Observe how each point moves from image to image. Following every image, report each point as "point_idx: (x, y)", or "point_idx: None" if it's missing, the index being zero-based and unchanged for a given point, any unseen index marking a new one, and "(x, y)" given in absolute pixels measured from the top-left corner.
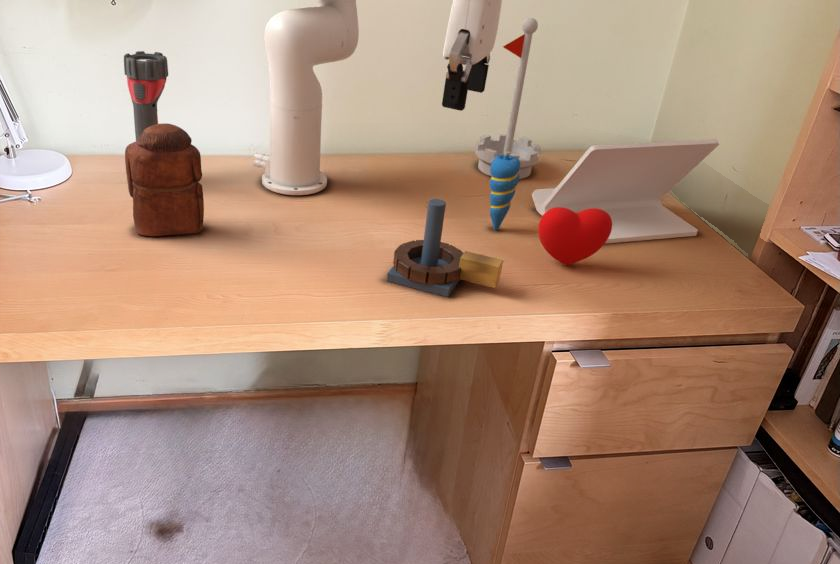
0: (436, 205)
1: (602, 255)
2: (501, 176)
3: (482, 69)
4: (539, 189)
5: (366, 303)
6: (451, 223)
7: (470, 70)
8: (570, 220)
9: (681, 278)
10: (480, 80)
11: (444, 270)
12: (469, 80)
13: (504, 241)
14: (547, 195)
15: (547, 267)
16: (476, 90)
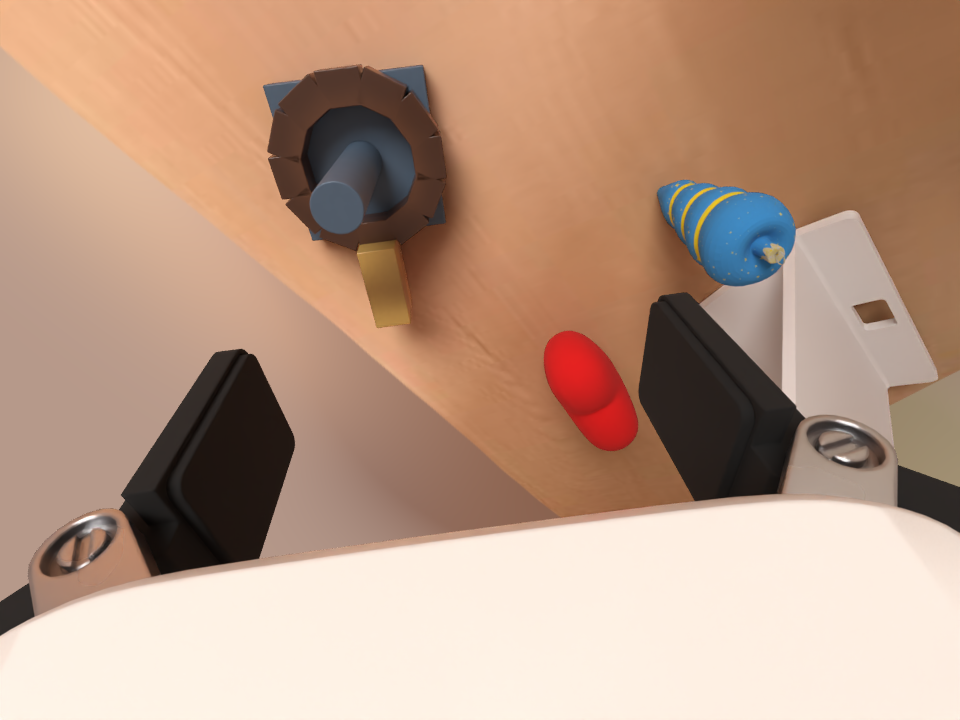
0: (314, 217)
1: (635, 379)
2: (698, 242)
3: (699, 486)
4: (861, 227)
5: (148, 95)
6: (654, 77)
7: (705, 404)
8: (568, 407)
9: (611, 467)
10: (665, 428)
11: (321, 227)
12: (671, 361)
13: (613, 228)
14: (845, 244)
15: (545, 329)
16: (642, 374)
